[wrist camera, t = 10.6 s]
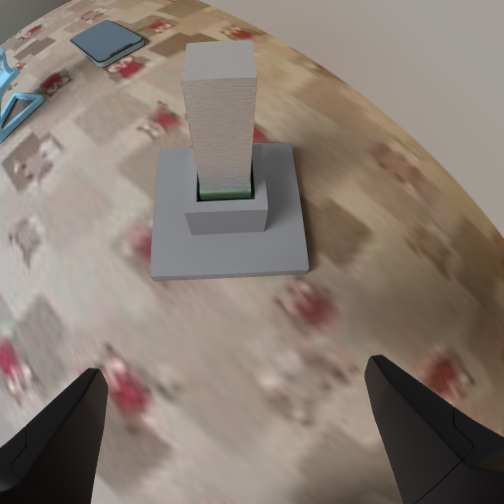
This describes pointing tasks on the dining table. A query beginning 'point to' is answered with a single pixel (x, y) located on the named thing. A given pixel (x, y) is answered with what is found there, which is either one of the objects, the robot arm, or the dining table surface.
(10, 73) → the light blue holder stand
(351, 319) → the dining table surface
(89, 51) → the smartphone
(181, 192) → the base
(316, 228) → the dining table surface
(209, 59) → the column
